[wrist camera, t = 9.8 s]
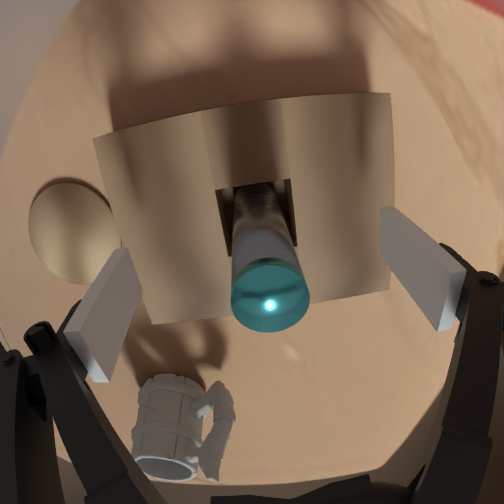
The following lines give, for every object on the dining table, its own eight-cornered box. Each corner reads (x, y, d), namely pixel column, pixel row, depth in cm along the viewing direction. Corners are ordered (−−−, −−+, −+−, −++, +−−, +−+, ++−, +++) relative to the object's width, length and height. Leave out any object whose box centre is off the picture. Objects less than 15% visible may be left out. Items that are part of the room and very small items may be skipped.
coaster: (53, 287, 25) (51, 289, 25) (18, 197, 21) (15, 198, 21) (136, 275, 25) (134, 278, 25) (103, 169, 21) (101, 170, 21)
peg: (237, 223, 23) (238, 336, 13) (230, 184, 22) (223, 275, 11) (278, 217, 23) (311, 325, 13) (273, 177, 22) (307, 262, 11)
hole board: (161, 298, 26) (152, 324, 23) (113, 131, 20) (92, 138, 17) (373, 266, 26) (389, 289, 22) (368, 92, 19) (390, 93, 16)
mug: (127, 384, 31) (103, 476, 21) (208, 345, 29) (199, 460, 18) (173, 417, 35) (162, 503, 24) (253, 387, 32) (259, 488, 21)
